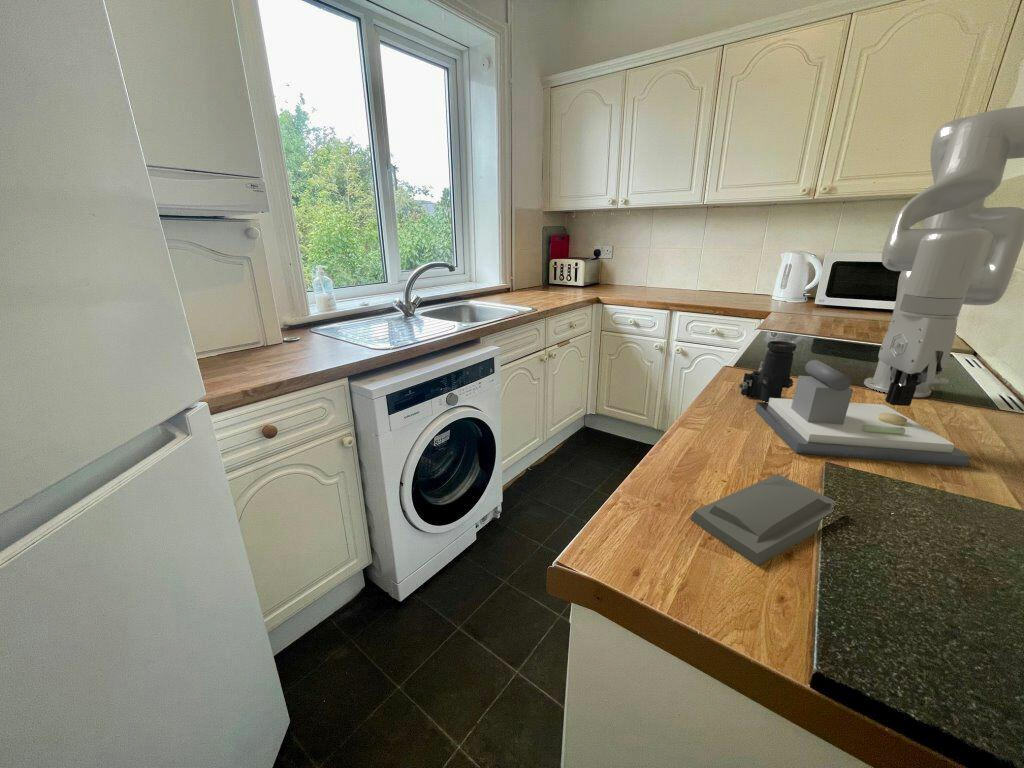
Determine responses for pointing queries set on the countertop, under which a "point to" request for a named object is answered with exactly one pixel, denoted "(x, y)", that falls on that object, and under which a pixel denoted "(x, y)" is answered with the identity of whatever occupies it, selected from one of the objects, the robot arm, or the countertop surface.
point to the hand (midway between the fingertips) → (897, 403)
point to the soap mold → (765, 517)
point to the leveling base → (855, 451)
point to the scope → (771, 373)
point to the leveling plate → (849, 415)
